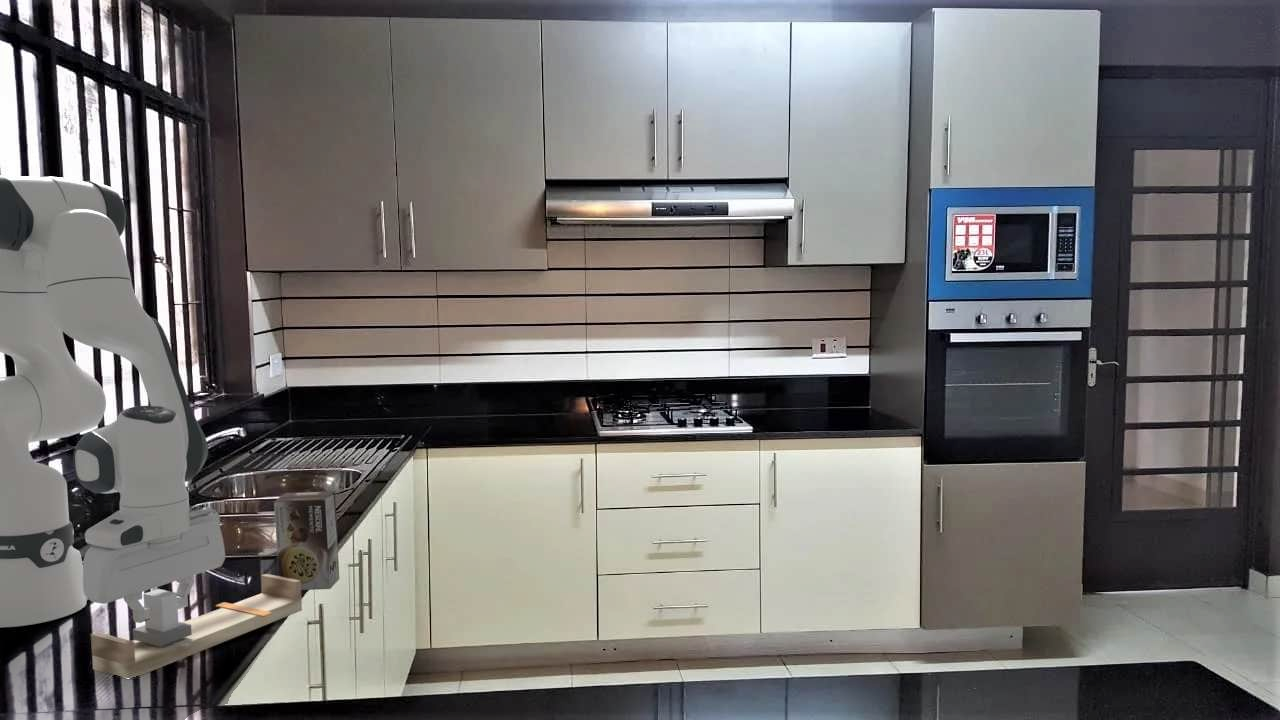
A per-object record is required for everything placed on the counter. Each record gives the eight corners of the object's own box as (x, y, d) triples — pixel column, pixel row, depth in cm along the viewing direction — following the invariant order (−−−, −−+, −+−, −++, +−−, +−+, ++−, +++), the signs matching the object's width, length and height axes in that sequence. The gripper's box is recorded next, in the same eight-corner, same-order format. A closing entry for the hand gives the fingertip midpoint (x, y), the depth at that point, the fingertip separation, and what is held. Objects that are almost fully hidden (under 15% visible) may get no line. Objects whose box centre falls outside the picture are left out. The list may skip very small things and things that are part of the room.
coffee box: (340, 578, 173) (336, 490, 171) (330, 590, 166) (326, 498, 165) (289, 579, 172) (285, 491, 171) (277, 591, 166) (272, 500, 164)
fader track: (86, 667, 134) (84, 632, 134) (261, 601, 161) (259, 572, 160) (136, 681, 129) (134, 646, 129) (308, 611, 156) (307, 581, 155)
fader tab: (133, 639, 138) (130, 595, 137) (164, 628, 142) (162, 585, 142) (160, 646, 135) (157, 601, 134) (191, 634, 139) (189, 591, 139)
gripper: (204, 502, 148) (208, 589, 149) (72, 534, 130) (79, 634, 131) (232, 506, 145) (236, 595, 146) (101, 540, 127) (108, 641, 128)
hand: (161, 614), depth 138 cm, fingers open, 5 cm apart
